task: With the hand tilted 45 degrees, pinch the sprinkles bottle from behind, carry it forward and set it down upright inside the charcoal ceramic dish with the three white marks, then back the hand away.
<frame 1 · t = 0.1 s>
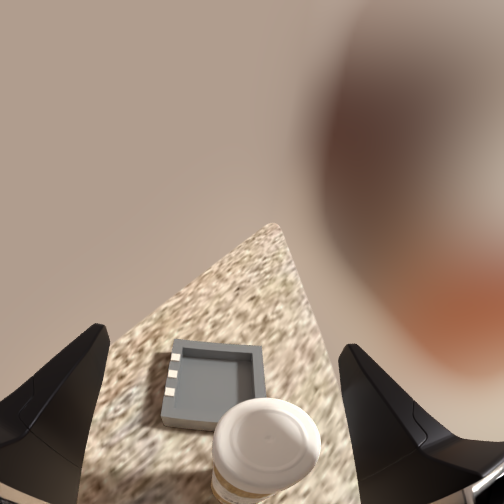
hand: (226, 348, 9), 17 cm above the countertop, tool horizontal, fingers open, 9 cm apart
dish: (215, 391, 24), on the countertop
sprinkles bottle: (237, 486, 16), on the countertop
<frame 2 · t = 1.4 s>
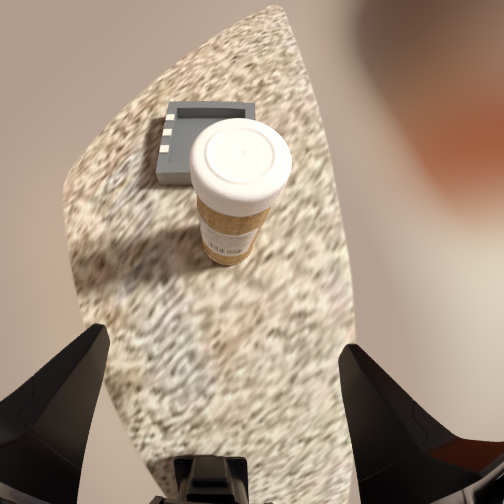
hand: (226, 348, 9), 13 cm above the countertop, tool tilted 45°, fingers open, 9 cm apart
dish: (208, 146, 26), on the countertop
sprinkles bottle: (226, 241, 24), on the countertop
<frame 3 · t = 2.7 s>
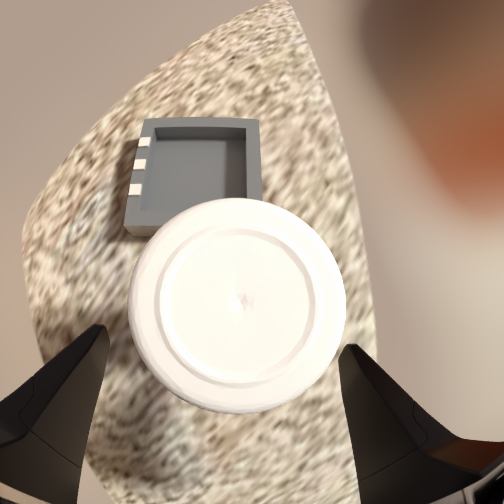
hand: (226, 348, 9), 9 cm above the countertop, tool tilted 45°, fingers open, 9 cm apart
dish: (197, 180, 20), on the countertop
sprinkles bottle: (222, 317, 18), on the countertop
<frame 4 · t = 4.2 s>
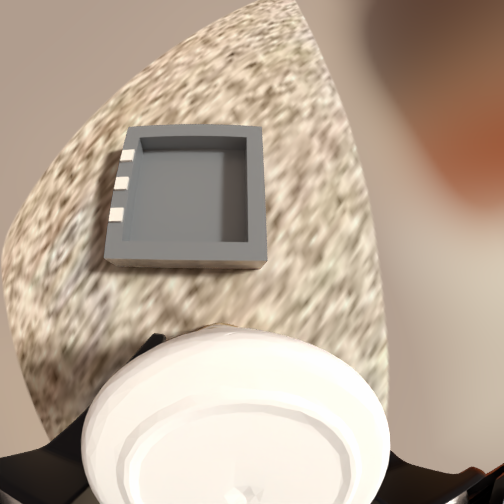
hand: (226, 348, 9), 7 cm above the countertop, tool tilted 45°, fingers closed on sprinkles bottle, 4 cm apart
dish: (189, 199, 17), on the countertop
sprinkles bottle: (220, 359, 15), on the countertop, touching gripper
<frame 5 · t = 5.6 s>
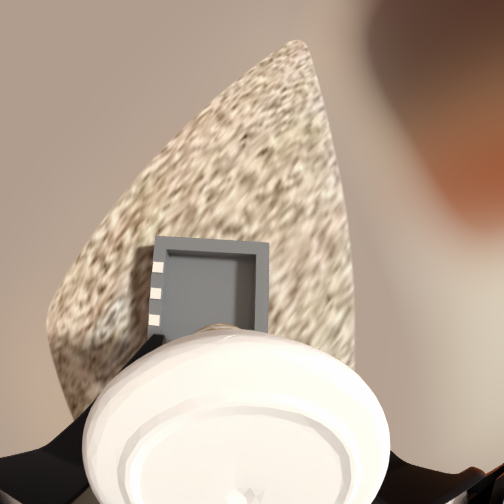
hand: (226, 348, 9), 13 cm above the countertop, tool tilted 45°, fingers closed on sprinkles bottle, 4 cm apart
dish: (209, 299, 22), on the countertop
sprinkles bottle: (220, 359, 15), point 6 cm above the countertop, touching gripper
when the fingers open (8 cm above the countertop, at t = 7.2 s): sprinkles bottle stays where it is, resting on dish.
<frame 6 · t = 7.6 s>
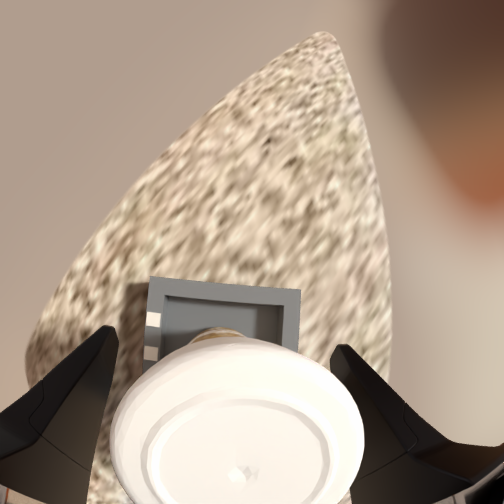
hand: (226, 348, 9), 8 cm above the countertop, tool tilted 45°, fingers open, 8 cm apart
dish: (219, 355, 17), on the countertop
sprinkles bottle: (219, 361, 16), point 1 cm above the countertop, touching dish
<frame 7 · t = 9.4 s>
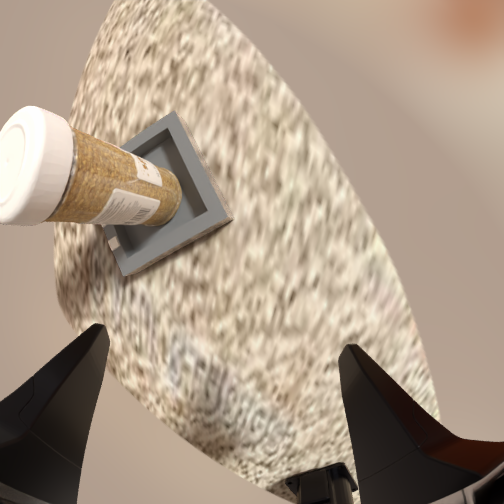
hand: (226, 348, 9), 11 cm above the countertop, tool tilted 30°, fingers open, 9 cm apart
dish: (158, 195, 20), on the countertop
sprinkles bottle: (156, 197, 20), point 1 cm above the countertop, touching dish
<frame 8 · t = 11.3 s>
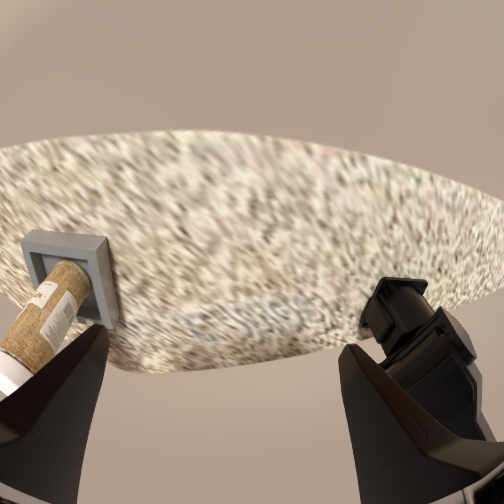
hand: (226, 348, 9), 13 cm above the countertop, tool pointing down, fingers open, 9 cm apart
dish: (74, 273, 23), on the countertop
sprinkles bottle: (74, 277, 22), point 1 cm above the countertop, touching dish
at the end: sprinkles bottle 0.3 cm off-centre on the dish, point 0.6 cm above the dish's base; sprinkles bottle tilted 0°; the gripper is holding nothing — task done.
